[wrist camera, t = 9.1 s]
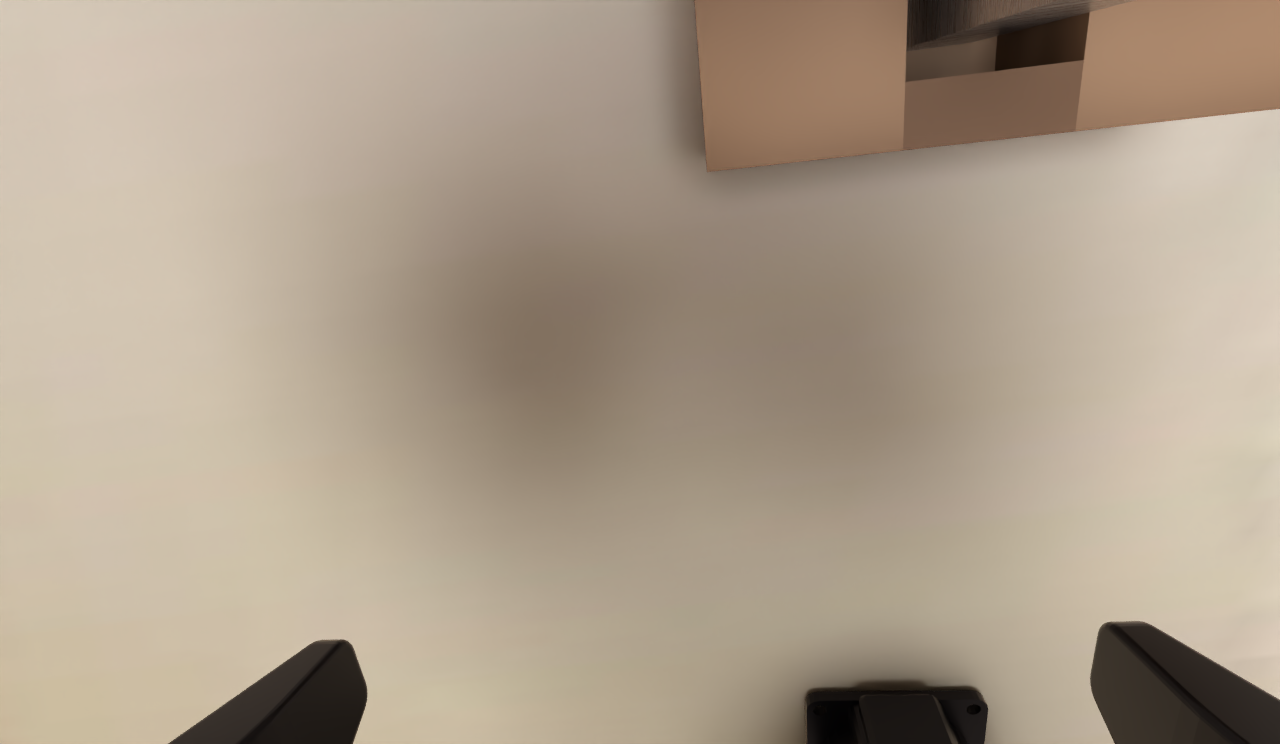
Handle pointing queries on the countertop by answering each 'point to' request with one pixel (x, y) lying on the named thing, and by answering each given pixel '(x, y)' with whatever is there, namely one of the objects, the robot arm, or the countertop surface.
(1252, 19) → the post block
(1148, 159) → the countertop surface
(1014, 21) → the gray concrete slab
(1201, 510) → the countertop surface
